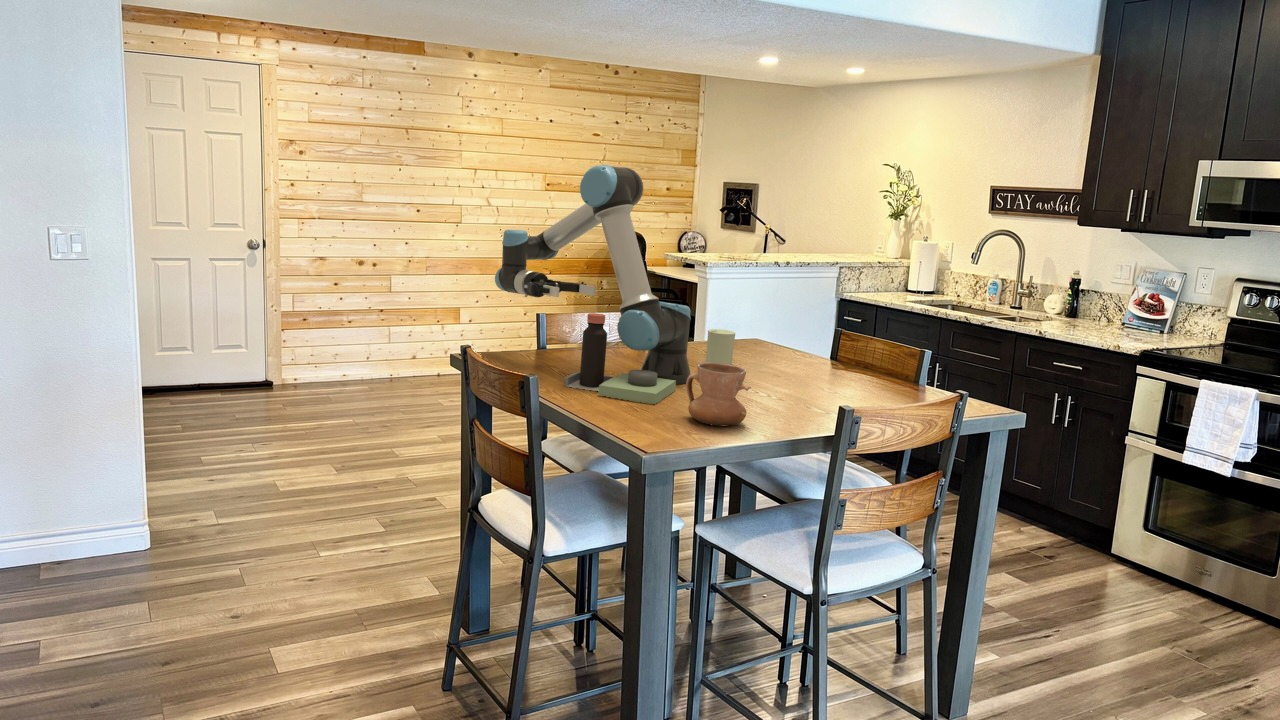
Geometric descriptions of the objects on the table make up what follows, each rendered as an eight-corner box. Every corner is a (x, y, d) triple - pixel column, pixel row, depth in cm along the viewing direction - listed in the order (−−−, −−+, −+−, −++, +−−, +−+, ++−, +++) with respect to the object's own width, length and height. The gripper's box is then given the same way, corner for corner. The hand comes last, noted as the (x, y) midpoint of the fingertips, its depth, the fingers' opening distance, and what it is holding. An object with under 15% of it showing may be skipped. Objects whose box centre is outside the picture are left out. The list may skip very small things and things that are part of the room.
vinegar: (601, 388, 256) (607, 317, 253) (577, 386, 257) (582, 315, 253) (604, 383, 263) (610, 314, 259) (580, 381, 263) (586, 311, 260)
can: (700, 362, 310) (703, 327, 308) (725, 363, 313) (729, 328, 311) (710, 368, 301) (714, 332, 299) (736, 368, 304) (740, 333, 302)
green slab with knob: (583, 377, 271) (584, 357, 270) (675, 390, 263) (676, 370, 262) (557, 389, 252) (558, 368, 251) (655, 404, 245) (657, 382, 243)
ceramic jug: (760, 425, 232) (766, 370, 230) (729, 434, 221) (735, 376, 218) (700, 410, 243) (705, 357, 240) (668, 418, 231) (673, 363, 229)
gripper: (563, 295, 290) (608, 303, 275) (497, 297, 273) (541, 306, 258) (564, 271, 289) (609, 278, 274) (498, 271, 272) (542, 279, 257)
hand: (576, 291), depth 266 cm, fingers open, 13 cm apart
